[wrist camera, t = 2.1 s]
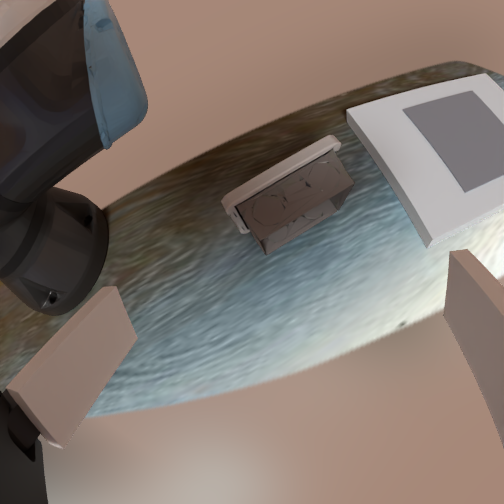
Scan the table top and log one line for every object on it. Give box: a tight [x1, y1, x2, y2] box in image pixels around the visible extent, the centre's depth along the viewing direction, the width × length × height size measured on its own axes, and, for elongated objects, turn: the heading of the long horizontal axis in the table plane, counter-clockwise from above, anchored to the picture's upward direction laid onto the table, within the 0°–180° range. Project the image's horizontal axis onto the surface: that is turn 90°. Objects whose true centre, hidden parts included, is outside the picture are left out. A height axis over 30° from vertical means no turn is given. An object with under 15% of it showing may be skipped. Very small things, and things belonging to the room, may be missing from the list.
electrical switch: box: [221, 135, 355, 255], centre depth 25 cm, size 9×5×9 cm, turn 119°
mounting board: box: [346, 73, 504, 248], centre depth 26 cm, size 22×16×2 cm
